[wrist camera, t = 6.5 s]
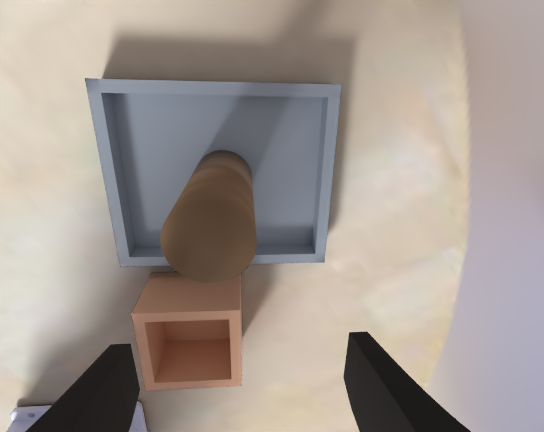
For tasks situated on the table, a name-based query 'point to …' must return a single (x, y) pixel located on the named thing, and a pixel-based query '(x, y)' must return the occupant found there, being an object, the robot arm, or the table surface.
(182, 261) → the dowel
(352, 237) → the table surface
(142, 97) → the tray
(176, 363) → the hollow square block
